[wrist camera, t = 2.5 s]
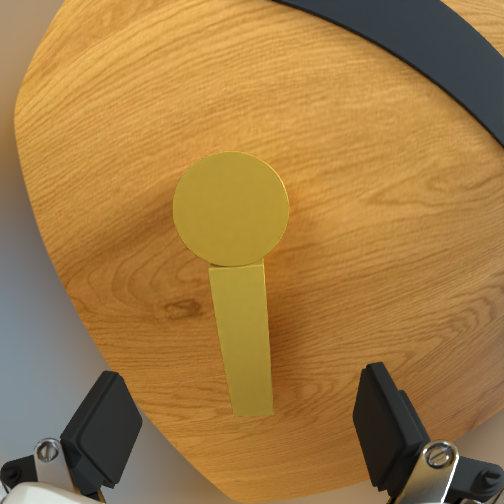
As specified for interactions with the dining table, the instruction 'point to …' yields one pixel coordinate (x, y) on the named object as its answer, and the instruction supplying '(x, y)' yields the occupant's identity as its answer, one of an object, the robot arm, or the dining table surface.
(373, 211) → the dining table surface
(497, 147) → the dining table surface
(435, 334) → the dining table surface
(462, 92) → the mat
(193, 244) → the yellow disc-ended bar
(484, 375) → the dining table surface
